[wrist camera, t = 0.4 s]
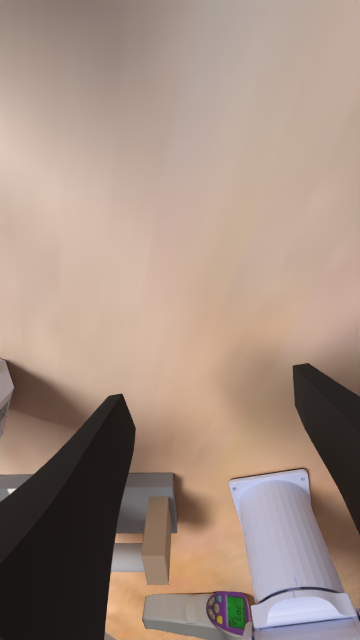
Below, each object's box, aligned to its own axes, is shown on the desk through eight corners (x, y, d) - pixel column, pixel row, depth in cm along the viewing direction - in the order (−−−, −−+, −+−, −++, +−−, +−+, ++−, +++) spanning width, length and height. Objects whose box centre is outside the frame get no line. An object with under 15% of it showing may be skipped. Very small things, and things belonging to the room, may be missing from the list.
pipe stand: (172, 472, 28) (168, 548, 22) (177, 518, 31) (174, 594, 25) (-37, 475, 29) (-96, 547, 23) (-12, 519, 33) (-57, 592, 26)
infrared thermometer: (145, 581, 40) (247, 587, 38) (159, 617, 45) (249, 624, 43) (138, 625, 36) (252, 635, 34) (154, 659, 41) (254, 670, 39)
